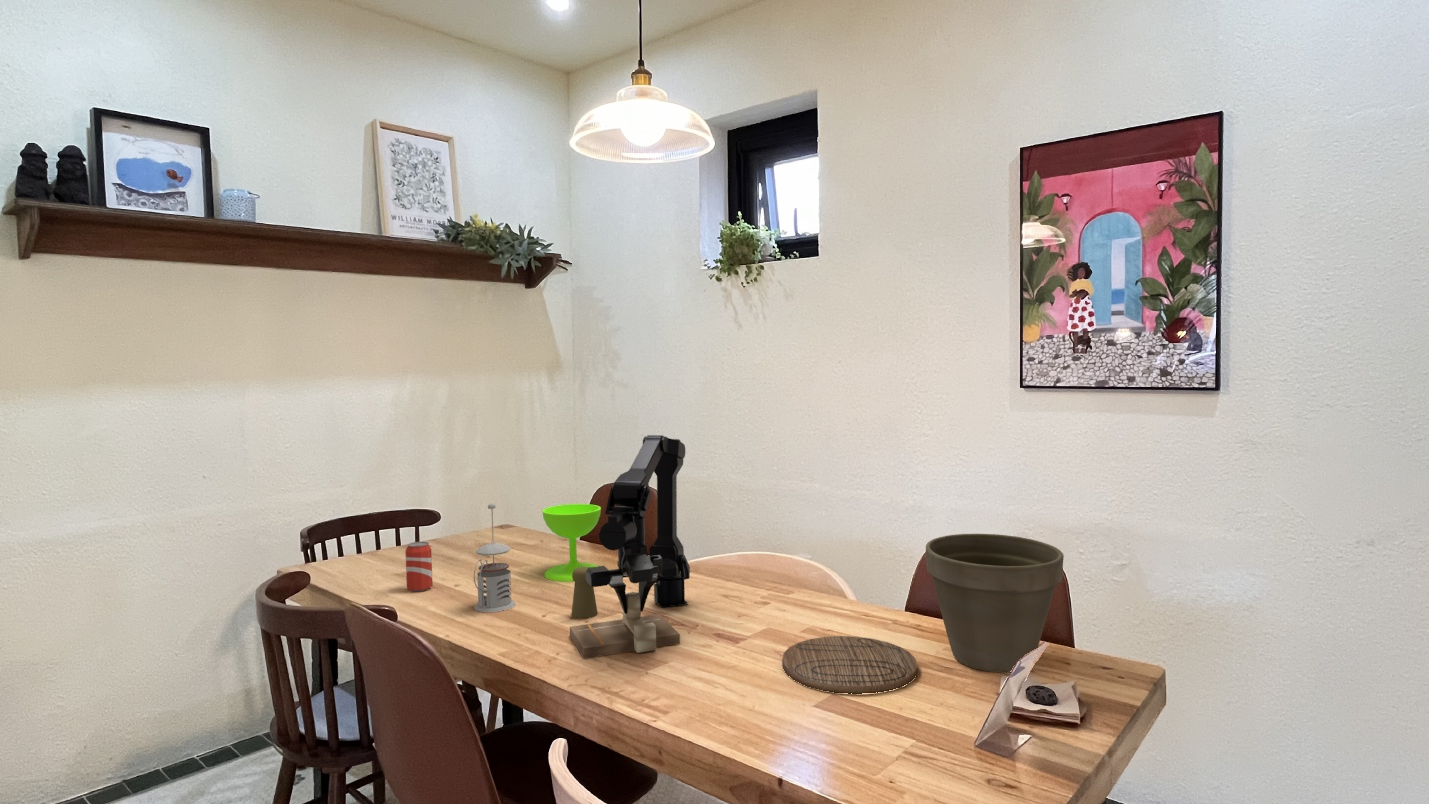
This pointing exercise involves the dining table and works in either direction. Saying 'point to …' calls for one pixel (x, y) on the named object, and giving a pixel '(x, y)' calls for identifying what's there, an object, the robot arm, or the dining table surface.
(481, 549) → the french press
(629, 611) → the lever handle
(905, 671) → the trivet
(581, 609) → the cork
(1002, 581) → the plant pot
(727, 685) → the dining table surface
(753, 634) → the dining table surface
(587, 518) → the wineglass
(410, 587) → the beverage can
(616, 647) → the board
